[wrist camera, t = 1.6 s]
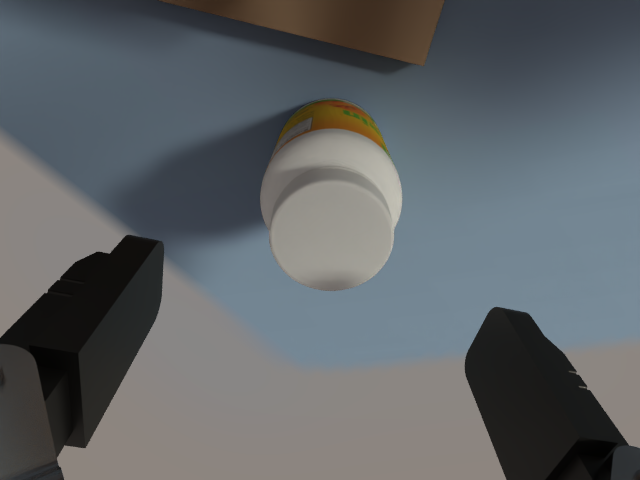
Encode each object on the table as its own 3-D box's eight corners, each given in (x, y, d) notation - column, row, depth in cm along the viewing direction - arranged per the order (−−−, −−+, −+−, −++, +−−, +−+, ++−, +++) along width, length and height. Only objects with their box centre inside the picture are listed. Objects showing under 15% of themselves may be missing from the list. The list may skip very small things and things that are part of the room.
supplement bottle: (403, 153, 22) (452, 245, 13) (327, 216, 23) (326, 333, 15) (334, 71, 20) (338, 117, 11) (257, 147, 22) (210, 235, 13)
